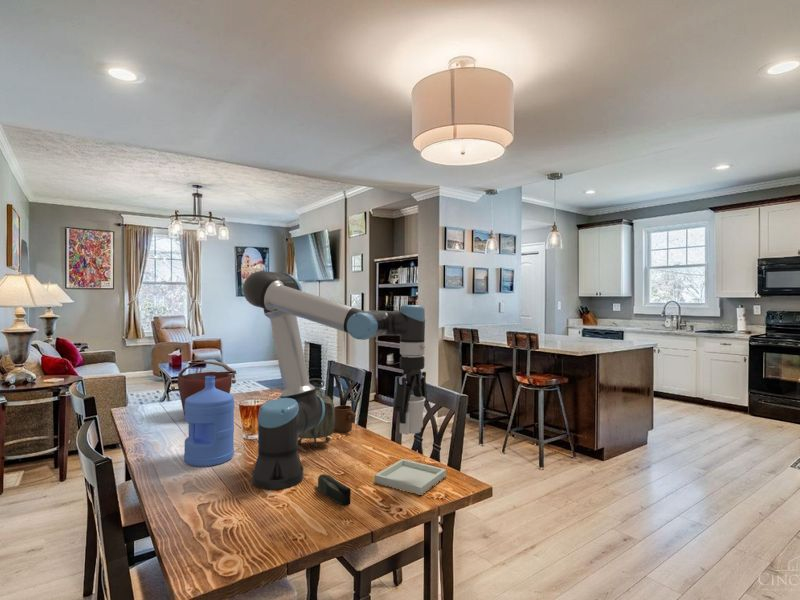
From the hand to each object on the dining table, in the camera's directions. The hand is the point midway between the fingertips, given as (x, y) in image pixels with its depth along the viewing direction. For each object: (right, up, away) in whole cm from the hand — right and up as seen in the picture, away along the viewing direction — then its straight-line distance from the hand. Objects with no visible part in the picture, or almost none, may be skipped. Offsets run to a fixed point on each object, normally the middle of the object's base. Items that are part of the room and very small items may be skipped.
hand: (411, 429), depth 137 cm
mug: (-26, -15, +48) cm, 57 cm away
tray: (0, -15, 0) cm, 15 cm away
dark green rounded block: (-23, -16, -12) cm, 30 cm away
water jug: (-68, -15, +16) cm, 72 cm away
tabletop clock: (-35, -15, +30) cm, 49 cm away
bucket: (-92, -14, +67) cm, 114 cm away
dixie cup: (0, 0, 0) cm, 0 cm away
